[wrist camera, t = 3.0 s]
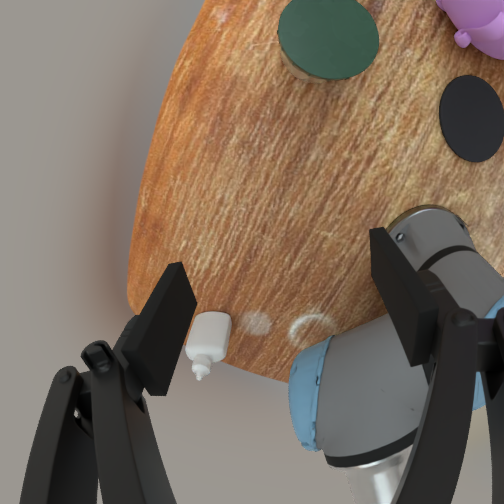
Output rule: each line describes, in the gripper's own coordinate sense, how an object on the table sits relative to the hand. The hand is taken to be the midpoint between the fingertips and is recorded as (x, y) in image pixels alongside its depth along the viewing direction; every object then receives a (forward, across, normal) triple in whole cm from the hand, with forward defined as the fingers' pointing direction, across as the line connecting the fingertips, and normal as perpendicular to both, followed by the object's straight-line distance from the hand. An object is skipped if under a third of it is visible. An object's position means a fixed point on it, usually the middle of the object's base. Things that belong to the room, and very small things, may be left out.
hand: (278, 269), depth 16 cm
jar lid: (+12, +7, +13) cm, 20 cm away
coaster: (+23, +28, +4) cm, 36 cm away
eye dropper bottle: (+23, -14, -20) cm, 34 cm away
